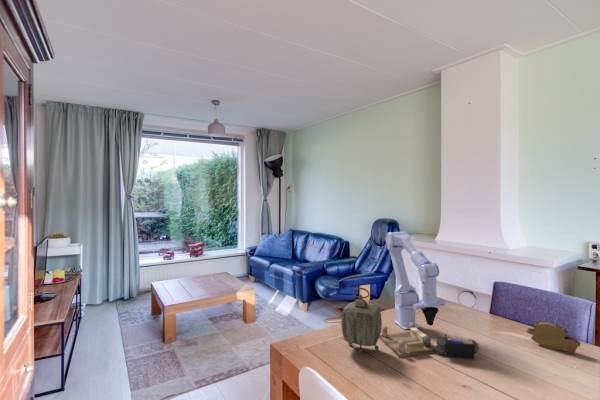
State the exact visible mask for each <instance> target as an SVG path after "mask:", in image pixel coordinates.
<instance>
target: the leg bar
mask: <svg viewBox="0 0 600 400" xmlns="http://www.w3.org/2000/svg"><path fill="white" fill-rule="evenodd" d="M409 331H410V335H411V336H412V337H414V338H415V339H416V340H417V341H422V342H423V346H425V347H430V346H431V343H432V342H431V341H432V340H431V336H429V335H427V334H426V333H424V332H422V331H421V330H420V329H419V328H410V329H409Z"/></svg>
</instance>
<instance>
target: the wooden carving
mask: <svg viewBox="0 0 600 400" xmlns="http://www.w3.org/2000/svg"><path fill="white" fill-rule="evenodd" d="M532 327H533V328H527V330H526V331H525V332H526V333H527V334H529V335H531V337H530V338H531V340H533V342H535V343H537V344H538V345H540V346H542V347H544V348H547V349H549V350H554V351H566V352H569V353H571V354H572V353H573V354H575V353H576V351H577V350H578V347H580V346H581V341H579V340H578V339H577V338H574V337H571V336H567V335H568V330H567V329H566V327H561V326H560V325H558V324H555V323H552V322H547V321H541V322H539V321H535V322H534V324H533V326H532Z"/></svg>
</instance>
